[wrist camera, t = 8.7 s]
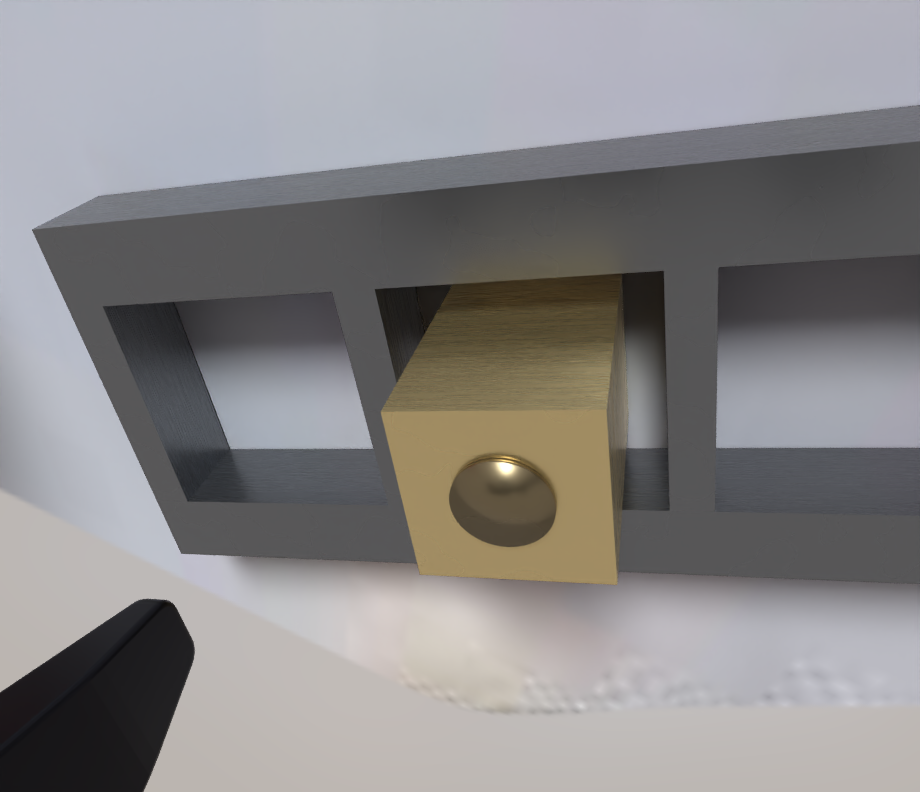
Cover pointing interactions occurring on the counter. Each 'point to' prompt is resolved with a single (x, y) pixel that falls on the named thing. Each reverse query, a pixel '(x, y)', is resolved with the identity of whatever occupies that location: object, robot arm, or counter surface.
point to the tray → (503, 259)
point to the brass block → (516, 431)
